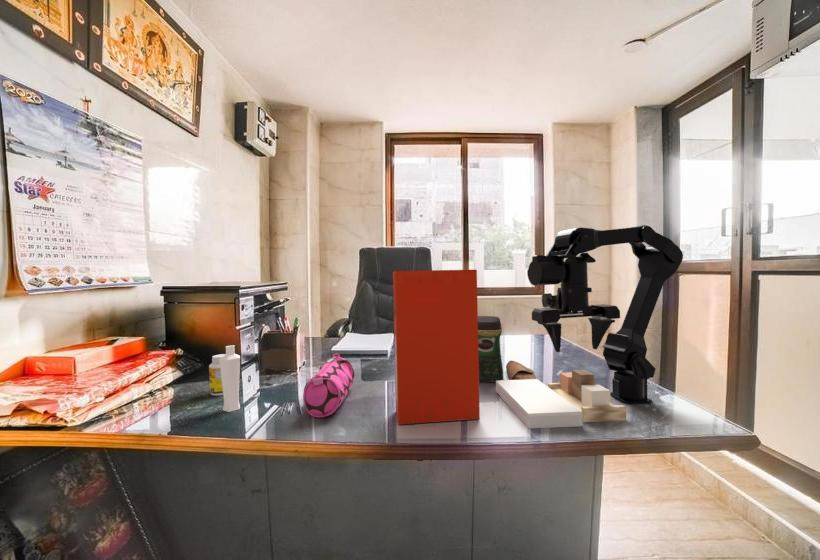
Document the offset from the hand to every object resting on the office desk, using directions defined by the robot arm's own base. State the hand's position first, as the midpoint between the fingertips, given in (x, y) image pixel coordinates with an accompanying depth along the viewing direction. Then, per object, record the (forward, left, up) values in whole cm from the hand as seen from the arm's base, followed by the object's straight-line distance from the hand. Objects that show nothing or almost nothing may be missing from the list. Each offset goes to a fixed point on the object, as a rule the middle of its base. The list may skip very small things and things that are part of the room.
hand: (576, 350), depth 82 cm
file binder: (+33, +2, -13) cm, 36 cm away
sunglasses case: (+5, -21, -14) cm, 26 cm away
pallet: (-1, 0, -13) cm, 13 cm away
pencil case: (+58, -9, -13) cm, 60 cm away
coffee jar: (+15, -23, -13) cm, 30 cm away
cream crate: (-1, +5, -11) cm, 12 cm away
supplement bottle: (+89, -19, -13) cm, 92 cm away
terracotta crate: (-1, -5, -11) cm, 12 cm away
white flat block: (+10, 0, -13) cm, 16 cm away
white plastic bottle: (+81, -7, -13) cm, 83 cm away
